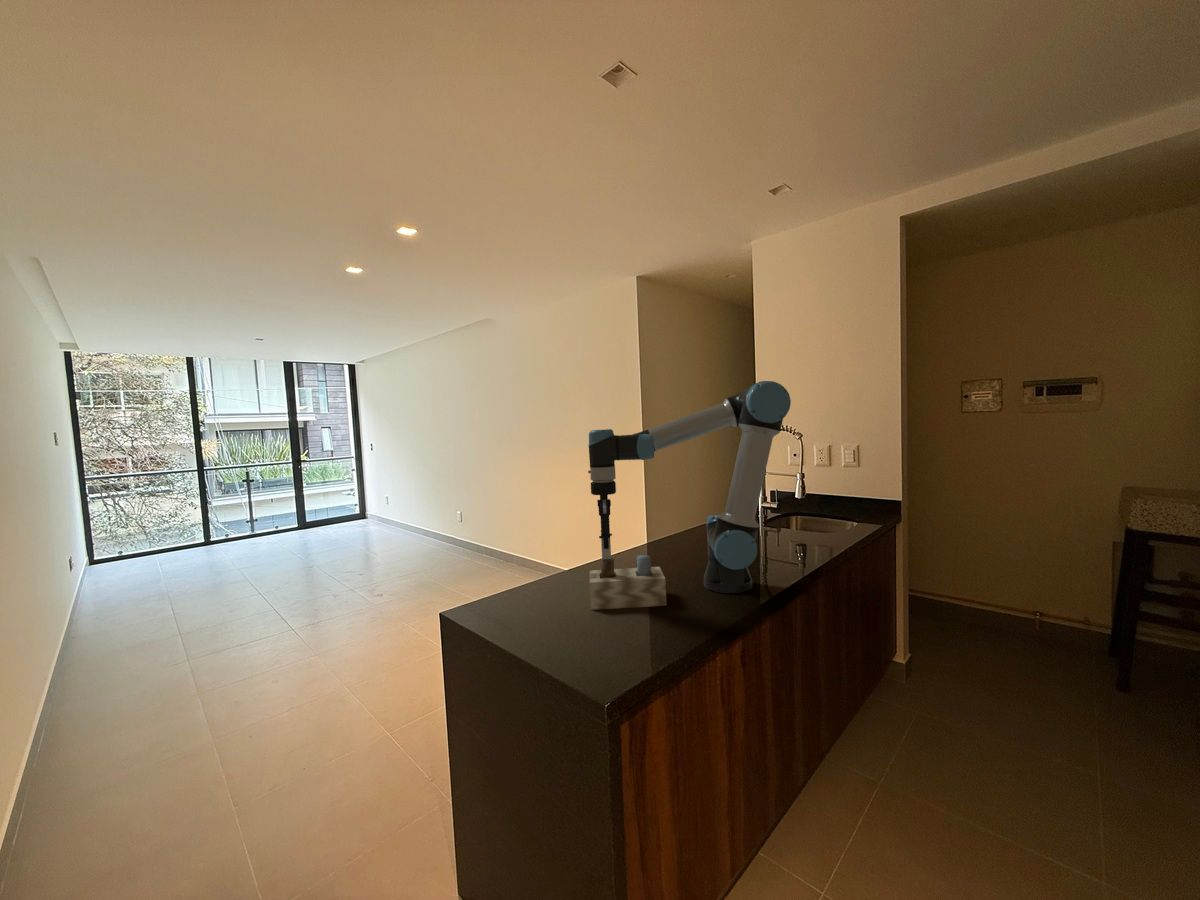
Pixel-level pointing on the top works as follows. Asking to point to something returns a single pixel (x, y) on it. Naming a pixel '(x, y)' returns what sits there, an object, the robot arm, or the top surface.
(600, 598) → the birch block
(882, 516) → the top surface
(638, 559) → the blue peg
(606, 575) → the walnut peg
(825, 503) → the top surface
